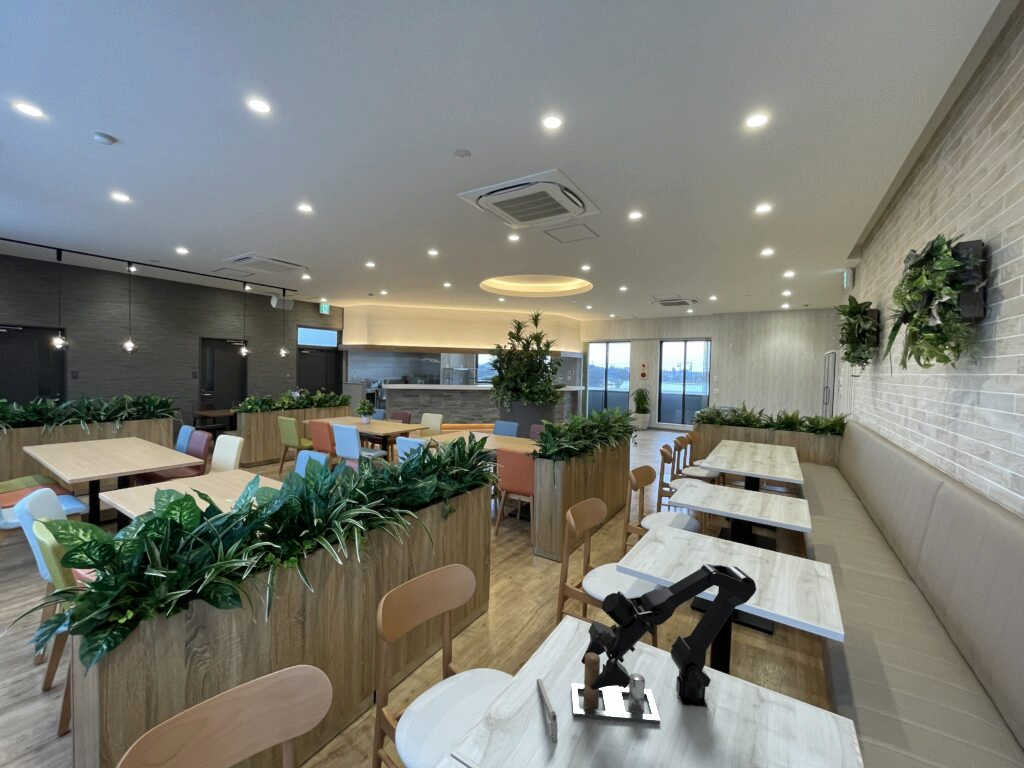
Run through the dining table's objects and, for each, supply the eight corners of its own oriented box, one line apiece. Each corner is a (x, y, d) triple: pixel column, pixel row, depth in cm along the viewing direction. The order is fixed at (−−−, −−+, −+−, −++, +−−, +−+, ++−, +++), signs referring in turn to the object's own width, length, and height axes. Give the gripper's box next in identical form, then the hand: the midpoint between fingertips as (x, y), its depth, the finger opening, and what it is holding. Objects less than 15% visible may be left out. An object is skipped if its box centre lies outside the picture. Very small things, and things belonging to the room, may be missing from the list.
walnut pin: (594, 696, 117) (595, 651, 117) (601, 707, 114) (602, 661, 113) (581, 698, 116) (582, 653, 116) (587, 710, 113) (588, 664, 112)
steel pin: (642, 701, 116) (643, 673, 115) (645, 713, 112) (646, 685, 111) (627, 700, 116) (628, 672, 116) (629, 712, 112) (630, 683, 112)
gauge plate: (650, 693, 119) (650, 689, 118) (659, 724, 109) (660, 720, 109) (571, 687, 120) (571, 683, 120) (573, 717, 110) (573, 712, 110)
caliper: (557, 743, 103) (558, 719, 103) (553, 744, 103) (553, 719, 103) (540, 680, 123) (540, 659, 123) (536, 680, 123) (537, 659, 123)
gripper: (597, 595, 123) (559, 633, 123) (619, 637, 104) (574, 682, 104) (623, 619, 124) (585, 657, 124) (649, 666, 106) (604, 711, 105)
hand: (586, 674), depth 114 cm, fingers open, 9 cm apart
